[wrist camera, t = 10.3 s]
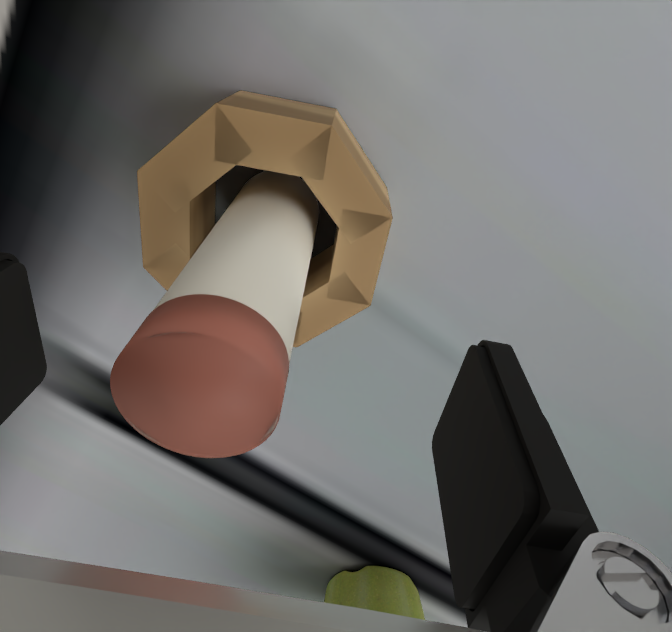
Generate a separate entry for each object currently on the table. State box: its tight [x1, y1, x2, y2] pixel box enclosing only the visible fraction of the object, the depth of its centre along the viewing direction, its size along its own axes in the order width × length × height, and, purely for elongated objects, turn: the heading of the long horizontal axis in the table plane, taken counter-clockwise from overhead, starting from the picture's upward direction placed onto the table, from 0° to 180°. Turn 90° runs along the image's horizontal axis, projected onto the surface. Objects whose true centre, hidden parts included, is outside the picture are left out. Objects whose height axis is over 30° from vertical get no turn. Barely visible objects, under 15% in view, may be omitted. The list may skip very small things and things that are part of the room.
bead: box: [137, 90, 393, 347], centre depth 15 cm, size 8×8×3 cm
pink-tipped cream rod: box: [110, 171, 319, 458], centre depth 12 cm, size 3×3×10 cm
